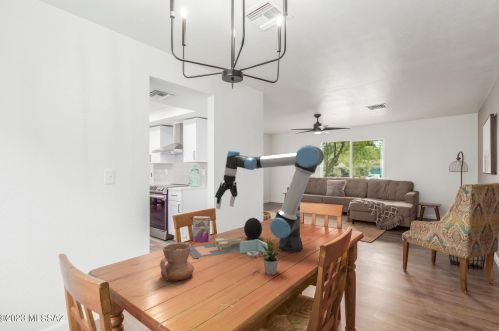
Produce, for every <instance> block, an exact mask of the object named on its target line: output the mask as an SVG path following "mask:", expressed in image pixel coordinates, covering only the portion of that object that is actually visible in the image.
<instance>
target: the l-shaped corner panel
mask: <svg viewBox="0 0 499 331" xmlns="http://www.w3.org/2000/svg"><path fill="white" fill-rule="evenodd" d="M259 241H260V242H259ZM258 242H259V243H258ZM261 243H262V244H263V245H264V246H265V247H266V248H267V249H268V245H267V242H264V241H262V240H260V239H259V238H258V239H256V240H251V239H249V240H245V241H244V240H242V242H240V251H239V253H240V254H246V255H247V256H249V257H252V258H257V257H258V256H259V255H260V253H259V252H266V251H265V249H264V248H263V245H262V244H261ZM258 245H259V246H258ZM261 245H262V246H261ZM257 249H258V250H257ZM259 250H260V251H259ZM258 253H259V254H258ZM261 254H262V255H263V256H264V255H265V253H261ZM266 254H267V253H266ZM266 257H267V256H266Z"/></svg>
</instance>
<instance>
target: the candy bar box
mask: <svg viewBox="0 0 499 331" xmlns="http://www.w3.org/2000/svg"><path fill="white" fill-rule="evenodd" d="M191 229H192V235H191V236H192V237H191V240H192V242H197V243H198V242H200V243H202V242H203V243H205V242H206V243H208V242H210V241H211V216H197V215H195V216H192V228H191Z"/></svg>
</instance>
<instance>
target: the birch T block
mask: <svg viewBox="0 0 499 331" xmlns="http://www.w3.org/2000/svg"><path fill="white" fill-rule="evenodd" d="M240 242H243V239H241V238H240V237H232V238H225V239H224V238H223V237H216V238H215V237H214V238H213V243H214V245H215V246H216V247H217V248H218V249H219V250H221V251H222V252H224V251H230V248H231V247H237V246H240Z"/></svg>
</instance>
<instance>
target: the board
mask: <svg viewBox="0 0 499 331" xmlns="http://www.w3.org/2000/svg"><path fill="white" fill-rule="evenodd" d="M191 249H192V250H191V251H190V254H189V256H191V258H192V259H193V260H199V259H200V258H205V257H212V256H218V255H224V254H230V253H236V252H240V246H237V247H231V248H230V251H224V252H222V251H221V250H219V249H218V248H217V247H216V246H215V245H214V242H212V243H205V244H196V245H191Z"/></svg>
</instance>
